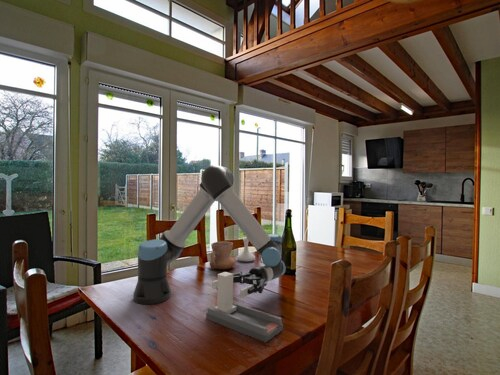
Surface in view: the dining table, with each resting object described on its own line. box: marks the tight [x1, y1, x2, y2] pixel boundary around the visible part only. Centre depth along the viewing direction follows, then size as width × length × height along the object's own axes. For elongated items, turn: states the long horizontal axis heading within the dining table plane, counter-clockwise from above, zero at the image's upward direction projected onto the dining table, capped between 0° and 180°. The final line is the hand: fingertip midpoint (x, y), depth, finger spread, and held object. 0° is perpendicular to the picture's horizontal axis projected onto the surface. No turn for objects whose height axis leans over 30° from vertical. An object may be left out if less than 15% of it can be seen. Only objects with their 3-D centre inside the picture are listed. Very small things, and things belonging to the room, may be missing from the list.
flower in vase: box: [236, 232, 256, 262], centre depth 185 cm, size 13×11×25 cm
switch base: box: [205, 301, 284, 343], centre depth 103 cm, size 26×10×4 cm, turn 53°
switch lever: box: [212, 271, 237, 314], centre depth 108 cm, size 6×6×13 cm
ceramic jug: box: [209, 241, 236, 271], centre depth 168 cm, size 18×14×14 cm
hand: (226, 289), depth 107 cm, fingers open, 13 cm apart
